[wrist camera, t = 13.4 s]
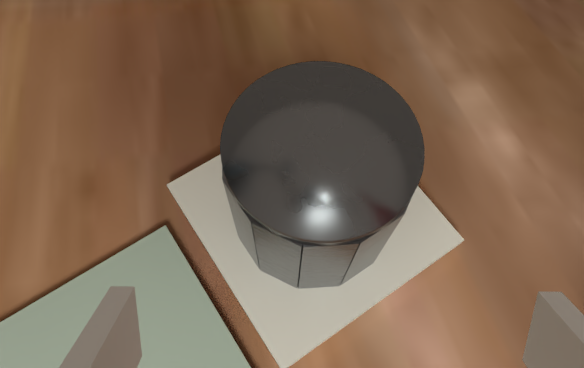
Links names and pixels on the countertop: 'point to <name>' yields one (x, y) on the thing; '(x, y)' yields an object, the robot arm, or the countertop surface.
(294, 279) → the grey ribbed cylinder
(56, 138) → the countertop surface
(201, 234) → the board
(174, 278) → the mat
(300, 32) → the countertop surface
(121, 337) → the robot arm
